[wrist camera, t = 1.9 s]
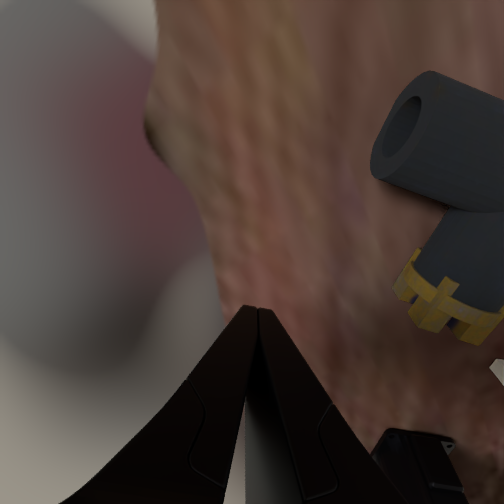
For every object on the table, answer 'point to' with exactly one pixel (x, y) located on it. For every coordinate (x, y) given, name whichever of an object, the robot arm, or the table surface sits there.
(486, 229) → the pipe connector
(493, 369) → the bay
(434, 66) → the table surface
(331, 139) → the table surface
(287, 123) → the table surface
